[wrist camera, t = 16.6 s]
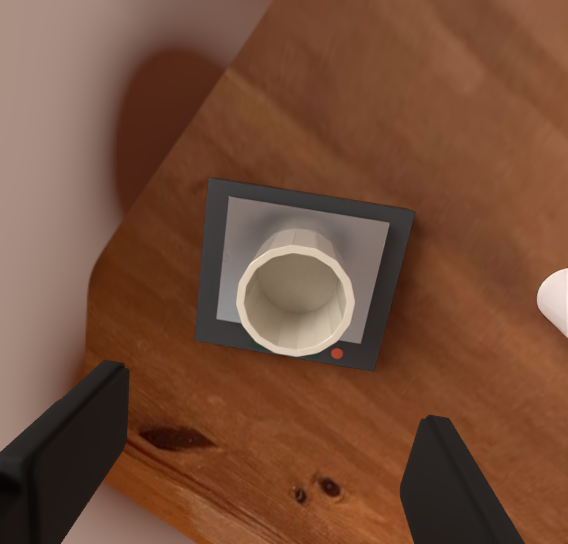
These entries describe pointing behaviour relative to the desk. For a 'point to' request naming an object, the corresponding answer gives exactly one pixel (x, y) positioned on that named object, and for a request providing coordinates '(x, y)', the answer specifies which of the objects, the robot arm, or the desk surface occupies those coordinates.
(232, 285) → the scale pan
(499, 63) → the desk surface
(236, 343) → the scale
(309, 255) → the ramekin
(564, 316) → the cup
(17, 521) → the robot arm
